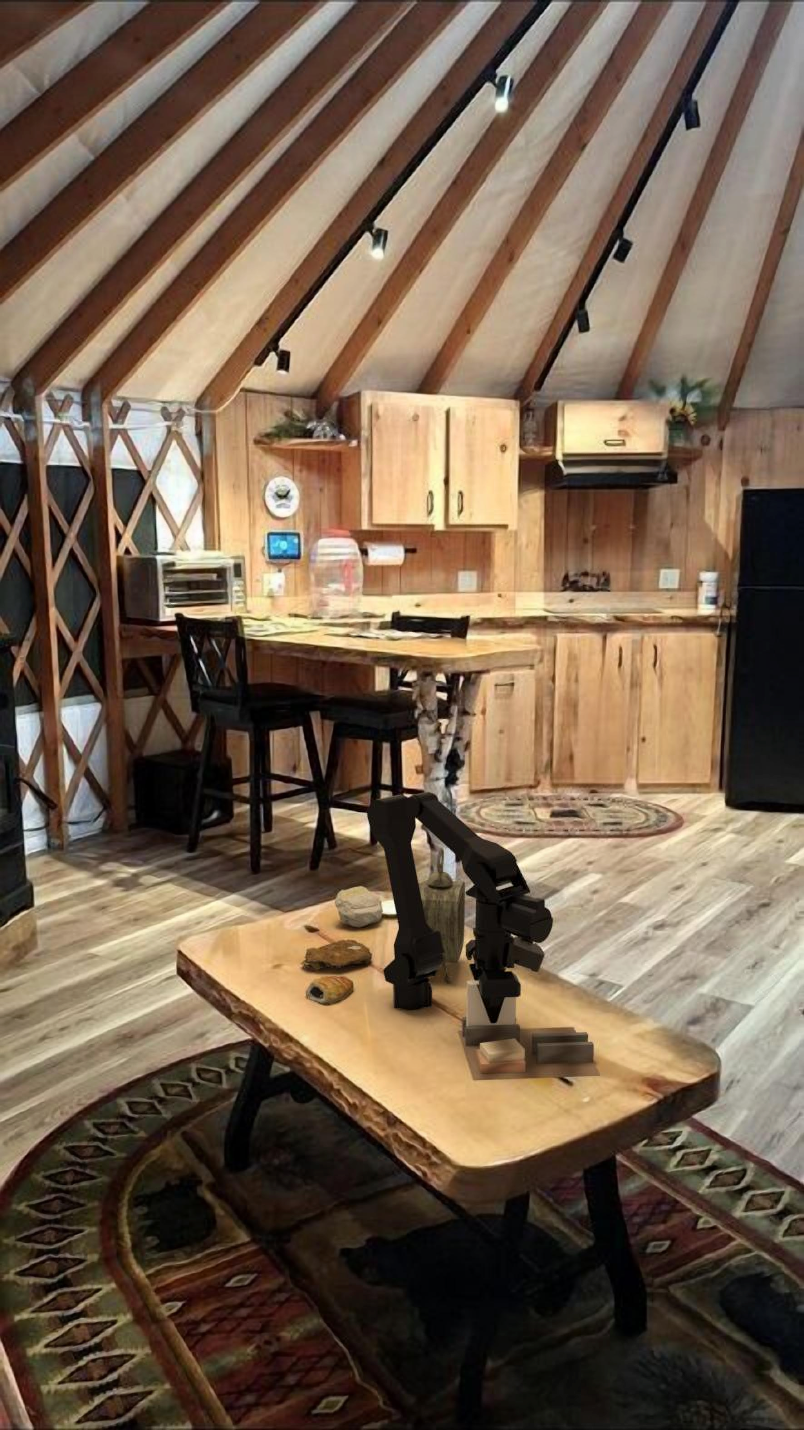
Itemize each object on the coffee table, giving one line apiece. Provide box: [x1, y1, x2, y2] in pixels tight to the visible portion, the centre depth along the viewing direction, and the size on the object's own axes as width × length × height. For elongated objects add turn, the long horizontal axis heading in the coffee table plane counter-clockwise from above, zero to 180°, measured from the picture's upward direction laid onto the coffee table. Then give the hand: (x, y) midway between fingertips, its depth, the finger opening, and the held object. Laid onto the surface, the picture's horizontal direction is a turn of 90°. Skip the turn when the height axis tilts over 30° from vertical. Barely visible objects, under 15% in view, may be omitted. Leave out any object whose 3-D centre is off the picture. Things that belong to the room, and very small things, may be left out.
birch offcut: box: [480, 1039, 525, 1064], centre depth 162 cm, size 6×4×2 cm, turn 107°
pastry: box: [305, 975, 354, 1004], centre depth 192 cm, size 9×7×4 cm
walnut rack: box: [457, 1016, 602, 1081], centre depth 166 cm, size 20×17×4 cm
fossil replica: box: [334, 885, 384, 928], centre depth 230 cm, size 12×8×10 cm
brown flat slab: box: [300, 939, 373, 971], centre depth 207 cm, size 11×4×15 cm
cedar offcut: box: [476, 1049, 525, 1073], centre depth 162 cm, size 7×5×2 cm
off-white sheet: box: [465, 980, 517, 1026], centre depth 170 cm, size 8×2×10 cm, turn 95°
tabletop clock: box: [419, 848, 466, 984], centre depth 201 cm, size 14×9×25 cm, turn 170°
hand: (490, 1016), depth 170 cm, fingers open, 5 cm apart
